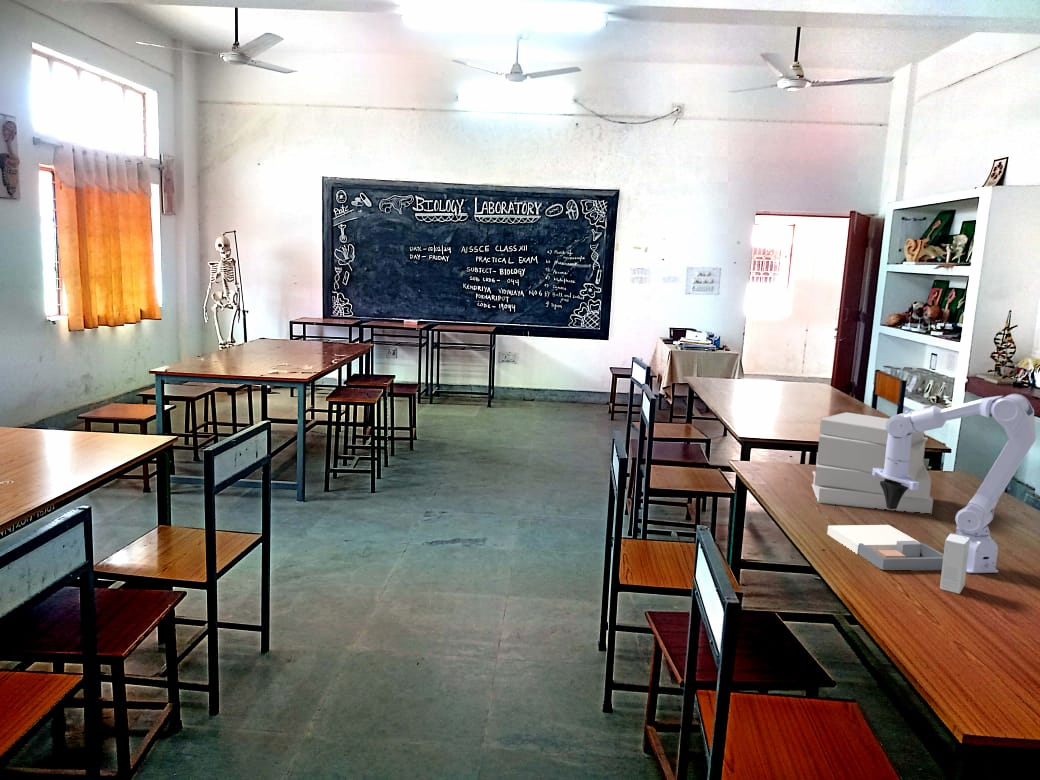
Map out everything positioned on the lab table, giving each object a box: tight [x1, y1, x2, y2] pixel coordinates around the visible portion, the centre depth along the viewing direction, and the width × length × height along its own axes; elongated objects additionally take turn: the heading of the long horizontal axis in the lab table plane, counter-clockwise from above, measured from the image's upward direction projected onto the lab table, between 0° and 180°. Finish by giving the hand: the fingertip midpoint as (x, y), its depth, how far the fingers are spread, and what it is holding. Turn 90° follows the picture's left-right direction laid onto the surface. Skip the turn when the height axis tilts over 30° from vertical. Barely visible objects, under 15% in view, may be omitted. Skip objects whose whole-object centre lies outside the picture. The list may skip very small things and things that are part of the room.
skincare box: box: [939, 533, 970, 595], centre depth 173 cm, size 6×4×12 cm
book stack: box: [811, 411, 934, 514], centre depth 241 cm, size 30×35×26 cm
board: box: [826, 524, 920, 555], centre depth 201 cm, size 15×18×2 cm
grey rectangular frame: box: [857, 541, 944, 571], centre depth 188 cm, size 11×18×3 cm, turn 96°
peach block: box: [877, 550, 905, 558], centre depth 189 cm, size 4×5×2 cm
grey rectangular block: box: [896, 541, 921, 558], centre depth 192 cm, size 4×5×2 cm
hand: (891, 508), depth 200 cm, fingers closed
